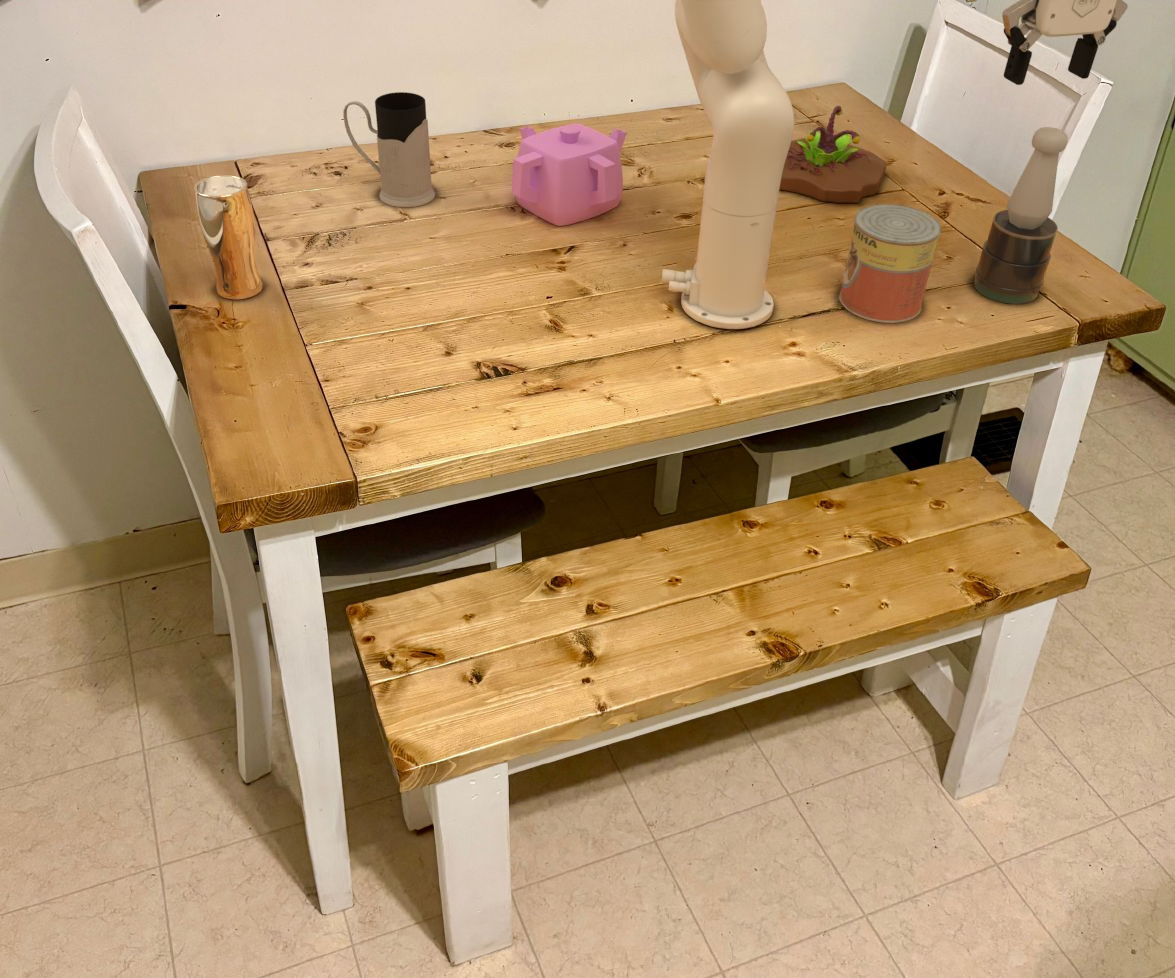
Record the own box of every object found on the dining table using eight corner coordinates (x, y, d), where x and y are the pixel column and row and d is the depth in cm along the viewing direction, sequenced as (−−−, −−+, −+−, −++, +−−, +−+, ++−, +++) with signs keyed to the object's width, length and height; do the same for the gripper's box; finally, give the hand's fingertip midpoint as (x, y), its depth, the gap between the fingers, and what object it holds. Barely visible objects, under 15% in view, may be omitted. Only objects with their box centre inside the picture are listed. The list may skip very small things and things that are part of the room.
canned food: (834, 280, 161) (849, 202, 153) (912, 283, 161) (931, 205, 153) (845, 321, 152) (861, 240, 145) (928, 324, 152) (949, 244, 145)
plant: (900, 171, 191) (915, 106, 184) (857, 212, 178) (870, 144, 171) (793, 142, 199) (803, 79, 192) (744, 180, 186) (752, 113, 179)
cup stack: (975, 301, 158) (994, 234, 151) (968, 269, 165) (986, 204, 158) (1044, 308, 157) (1066, 242, 150) (1034, 276, 164) (1055, 211, 157)
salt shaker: (1048, 234, 152) (1078, 141, 143) (1004, 229, 152) (1032, 136, 144) (1044, 216, 156) (1072, 124, 148) (1001, 211, 157) (1027, 120, 149)
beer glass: (239, 306, 150) (219, 202, 140) (202, 291, 153) (180, 187, 143) (276, 285, 155) (260, 182, 145) (240, 271, 157) (221, 169, 148)
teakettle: (509, 225, 171) (508, 147, 163) (520, 178, 184) (519, 103, 176) (621, 231, 171) (625, 153, 163) (623, 183, 184) (628, 109, 176)
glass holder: (420, 211, 174) (413, 115, 164) (338, 195, 177) (327, 101, 167) (444, 188, 180) (439, 95, 171) (364, 174, 183) (355, 82, 174)
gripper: (1049, -62, 123) (1005, 94, 134) (1174, -68, 128) (1122, 83, 139) (1007, -79, 128) (968, 72, 139) (1129, -84, 133) (1082, 62, 144)
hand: (1045, 77), depth 139 cm, fingers open, 9 cm apart
